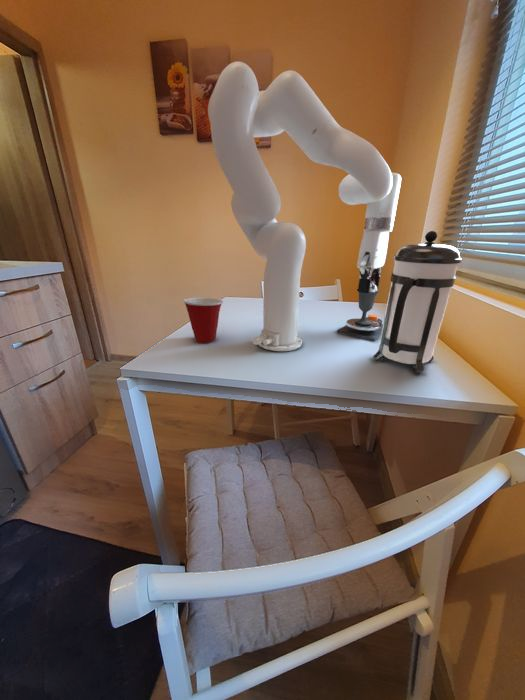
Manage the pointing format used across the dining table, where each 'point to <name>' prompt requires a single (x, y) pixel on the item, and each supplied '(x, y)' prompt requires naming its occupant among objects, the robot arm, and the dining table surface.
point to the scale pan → (369, 327)
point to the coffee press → (417, 301)
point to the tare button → (373, 317)
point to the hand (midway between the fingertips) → (368, 290)
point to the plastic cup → (203, 317)
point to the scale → (363, 332)
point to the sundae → (367, 302)
